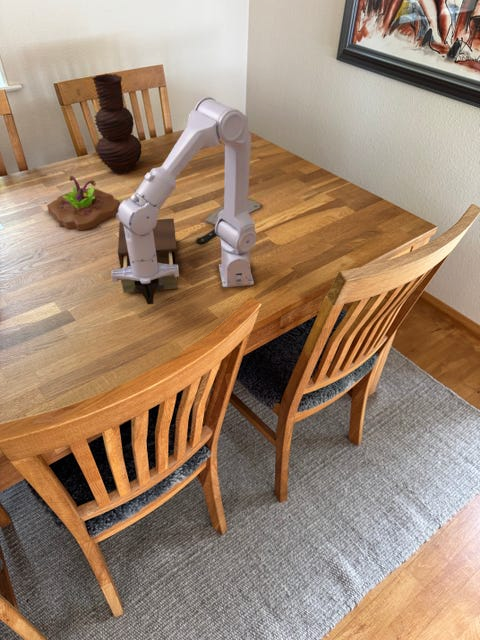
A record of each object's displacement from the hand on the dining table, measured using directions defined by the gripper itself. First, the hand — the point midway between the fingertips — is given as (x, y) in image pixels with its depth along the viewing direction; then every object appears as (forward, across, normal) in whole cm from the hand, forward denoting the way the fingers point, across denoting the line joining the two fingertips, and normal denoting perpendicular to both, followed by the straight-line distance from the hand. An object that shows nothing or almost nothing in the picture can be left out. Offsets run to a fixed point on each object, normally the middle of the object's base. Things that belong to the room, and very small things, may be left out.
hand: (150, 301), depth 107 cm
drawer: (+3, 0, +11) cm, 12 cm away
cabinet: (+4, 0, +22) cm, 23 cm away
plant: (+4, -20, +50) cm, 54 cm away
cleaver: (+4, +22, +39) cm, 45 cm away
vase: (+4, -9, +78) cm, 79 cm away
